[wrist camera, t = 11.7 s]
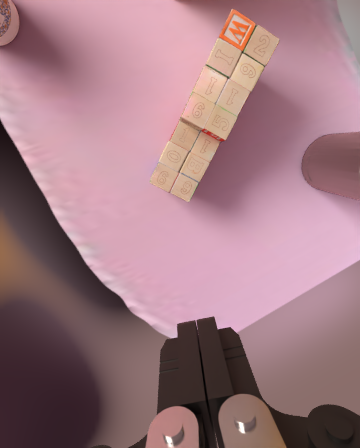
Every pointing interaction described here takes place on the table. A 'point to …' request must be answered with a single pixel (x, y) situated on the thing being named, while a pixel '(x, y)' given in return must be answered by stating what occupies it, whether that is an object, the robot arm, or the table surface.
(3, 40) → the bath foam
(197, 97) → the stack of blocks
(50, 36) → the table surface
